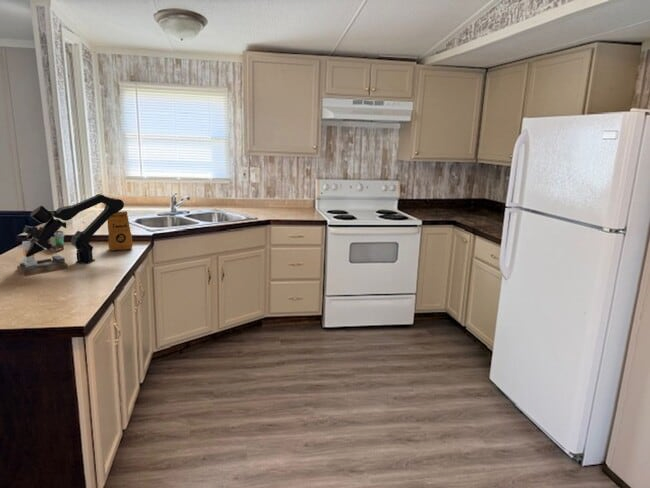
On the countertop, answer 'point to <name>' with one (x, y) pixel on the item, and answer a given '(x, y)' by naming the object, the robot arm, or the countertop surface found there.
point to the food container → (57, 241)
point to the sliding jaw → (27, 260)
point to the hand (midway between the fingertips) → (25, 255)
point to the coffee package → (119, 232)
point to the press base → (44, 266)
